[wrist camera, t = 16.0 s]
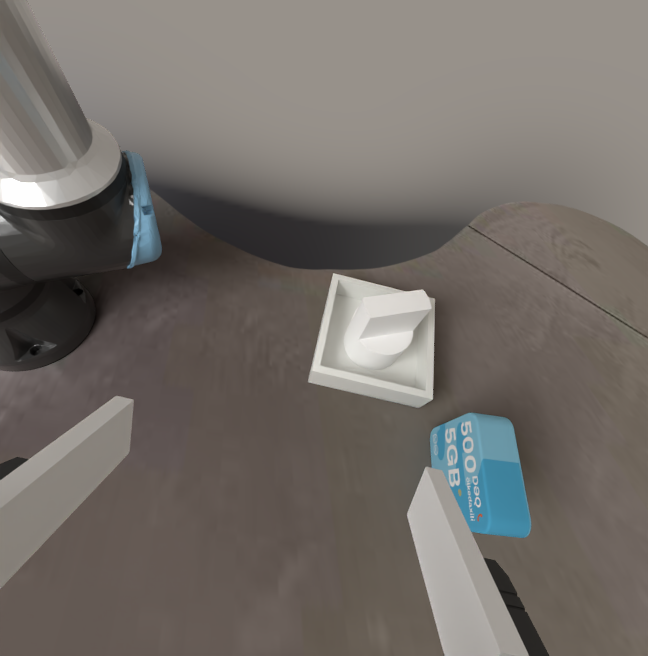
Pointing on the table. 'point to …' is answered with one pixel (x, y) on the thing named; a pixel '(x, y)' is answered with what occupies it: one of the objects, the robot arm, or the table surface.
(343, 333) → the bin
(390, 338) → the base with upright slab
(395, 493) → the table surface
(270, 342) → the table surface
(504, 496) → the data package
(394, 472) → the table surface
